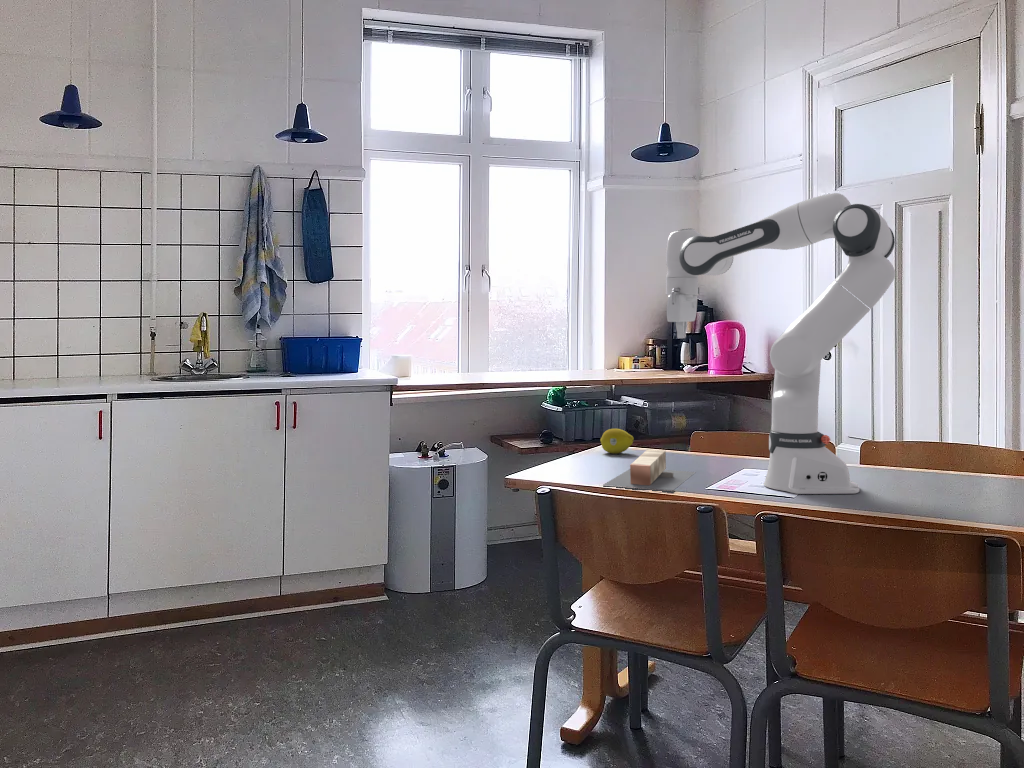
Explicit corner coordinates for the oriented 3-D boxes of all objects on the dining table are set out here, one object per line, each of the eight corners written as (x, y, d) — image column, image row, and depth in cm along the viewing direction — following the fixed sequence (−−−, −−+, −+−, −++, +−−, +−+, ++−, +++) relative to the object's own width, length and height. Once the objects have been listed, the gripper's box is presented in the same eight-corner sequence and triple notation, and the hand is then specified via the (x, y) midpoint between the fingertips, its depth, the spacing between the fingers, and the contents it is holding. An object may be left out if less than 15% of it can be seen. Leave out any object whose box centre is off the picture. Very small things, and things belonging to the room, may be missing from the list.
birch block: (647, 449, 225) (630, 464, 210) (665, 450, 223) (649, 466, 208) (647, 467, 225) (630, 483, 211) (665, 468, 223) (649, 485, 209)
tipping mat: (632, 470, 234) (632, 463, 234) (696, 474, 227) (696, 467, 226) (603, 487, 211) (603, 480, 210) (673, 493, 203) (673, 485, 203)
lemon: (595, 453, 263) (595, 428, 263) (606, 450, 270) (606, 426, 269) (626, 456, 257) (626, 431, 256) (637, 453, 264) (637, 428, 263)
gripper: (684, 287, 220) (684, 339, 221) (700, 289, 239) (700, 337, 240) (661, 287, 223) (660, 339, 224) (679, 289, 241) (678, 337, 242)
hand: (681, 338), depth 232 cm, fingers closed
